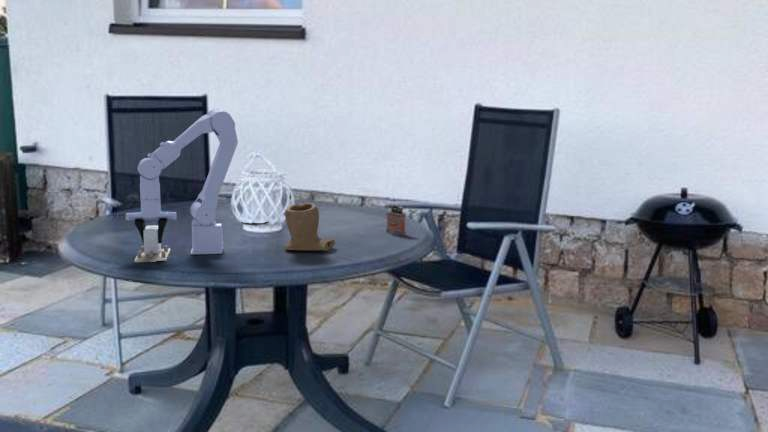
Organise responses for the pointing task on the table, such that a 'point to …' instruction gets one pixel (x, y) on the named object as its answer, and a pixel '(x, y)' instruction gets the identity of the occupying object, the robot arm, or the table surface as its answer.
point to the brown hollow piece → (305, 229)
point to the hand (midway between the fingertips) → (152, 242)
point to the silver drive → (151, 240)
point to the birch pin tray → (152, 255)
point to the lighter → (396, 220)
